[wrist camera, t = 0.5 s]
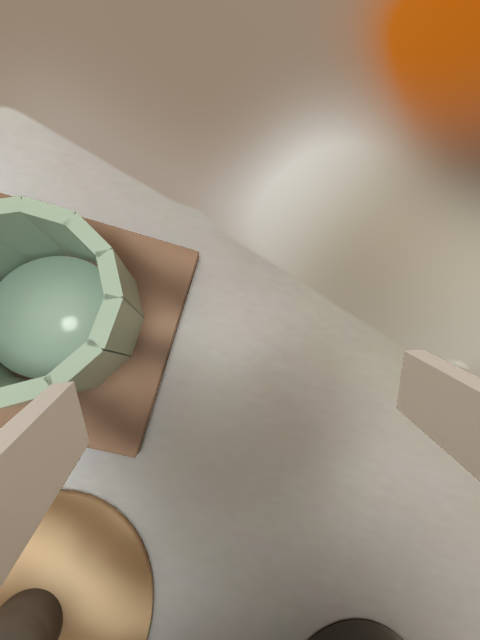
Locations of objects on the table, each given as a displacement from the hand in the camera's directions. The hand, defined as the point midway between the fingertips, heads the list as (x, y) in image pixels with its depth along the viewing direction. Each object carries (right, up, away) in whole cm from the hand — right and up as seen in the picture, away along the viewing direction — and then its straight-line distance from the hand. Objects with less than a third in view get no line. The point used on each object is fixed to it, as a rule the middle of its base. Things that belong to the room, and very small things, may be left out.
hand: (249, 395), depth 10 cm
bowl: (-17, +3, +13) cm, 21 cm away
